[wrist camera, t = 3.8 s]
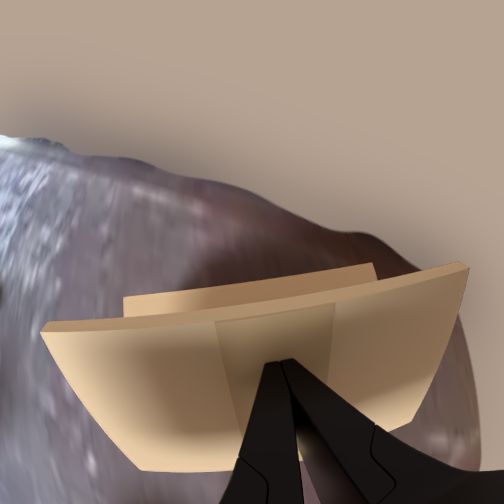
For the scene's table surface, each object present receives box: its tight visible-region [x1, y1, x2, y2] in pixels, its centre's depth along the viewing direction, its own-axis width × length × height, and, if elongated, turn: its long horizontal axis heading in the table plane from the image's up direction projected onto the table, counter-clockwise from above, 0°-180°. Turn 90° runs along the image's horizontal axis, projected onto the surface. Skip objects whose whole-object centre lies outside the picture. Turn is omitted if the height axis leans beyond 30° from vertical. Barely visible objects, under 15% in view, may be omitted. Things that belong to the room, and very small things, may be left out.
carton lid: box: [40, 262, 470, 472], centre depth 8 cm, size 9×14×1 cm
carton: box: [124, 262, 378, 317], centre depth 15 cm, size 9×14×6 cm, turn 99°
